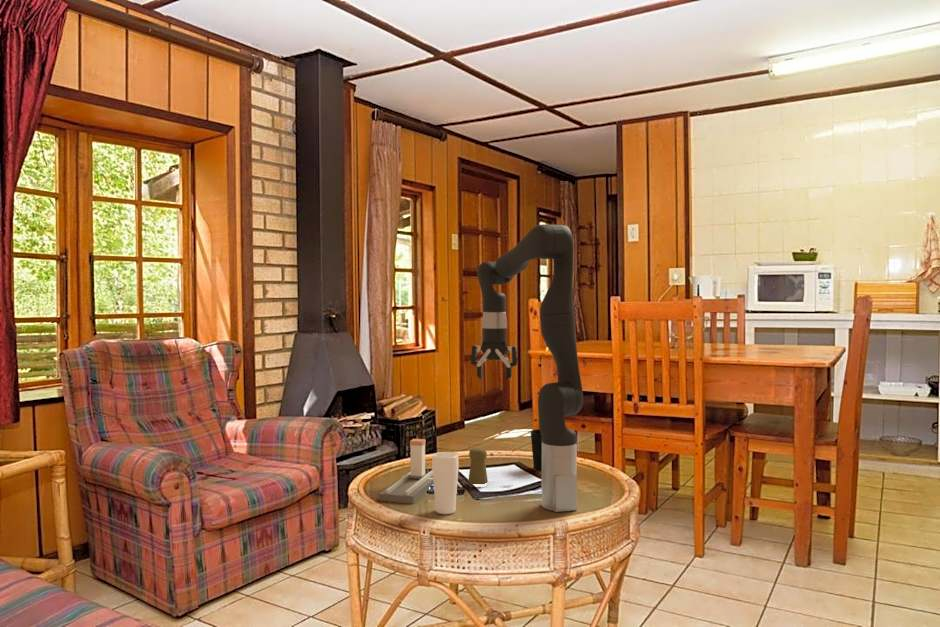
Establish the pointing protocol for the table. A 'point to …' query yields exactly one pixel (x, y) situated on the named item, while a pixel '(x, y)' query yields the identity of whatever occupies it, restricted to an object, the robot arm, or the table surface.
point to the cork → (478, 466)
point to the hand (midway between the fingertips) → (494, 379)
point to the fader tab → (417, 458)
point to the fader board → (407, 489)
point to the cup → (537, 449)
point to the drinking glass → (445, 481)
